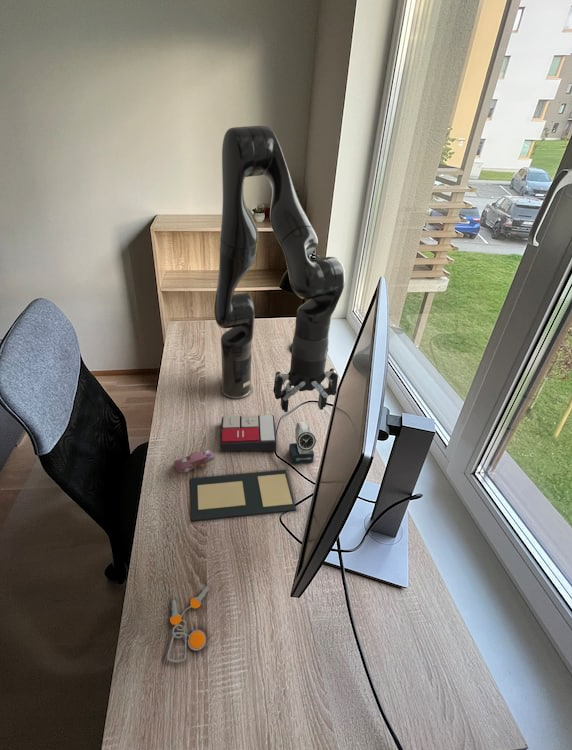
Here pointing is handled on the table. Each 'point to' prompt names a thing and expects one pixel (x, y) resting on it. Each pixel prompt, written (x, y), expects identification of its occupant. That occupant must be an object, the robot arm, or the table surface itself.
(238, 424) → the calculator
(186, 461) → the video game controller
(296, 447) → the watch
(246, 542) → the table surface
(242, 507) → the desk mat
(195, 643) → the key chain
